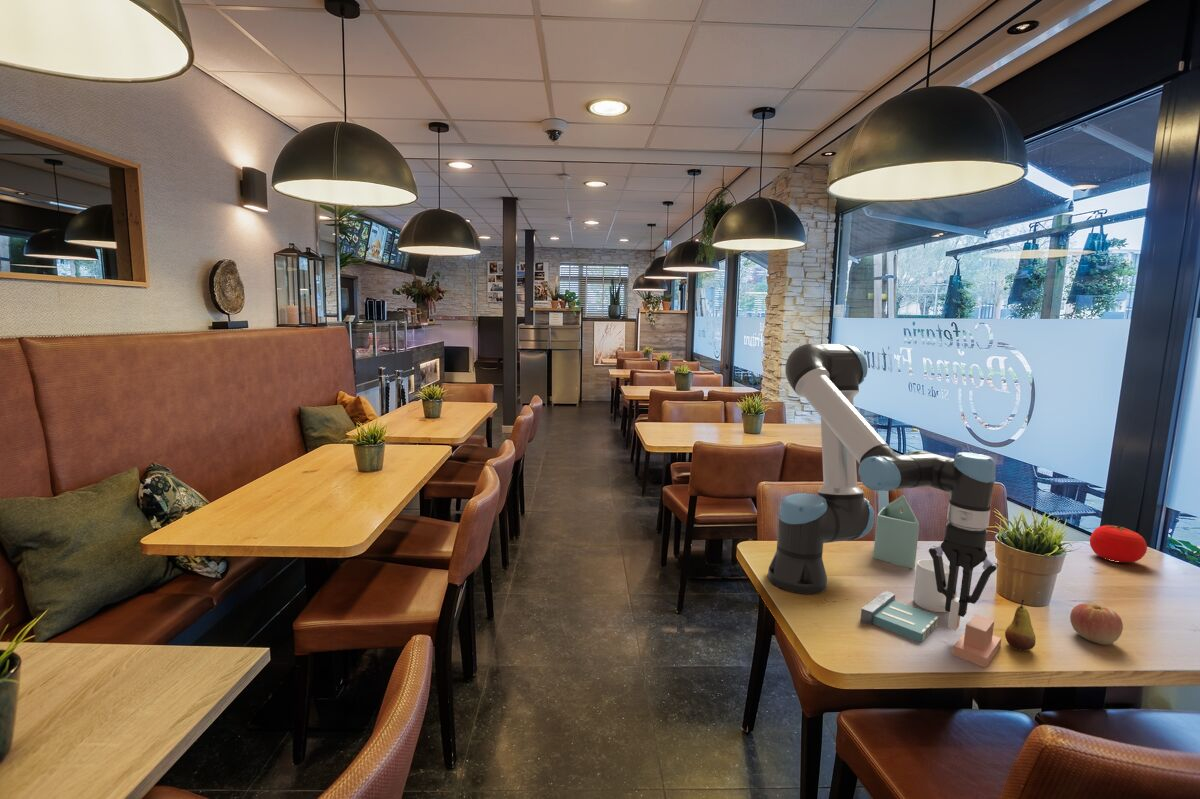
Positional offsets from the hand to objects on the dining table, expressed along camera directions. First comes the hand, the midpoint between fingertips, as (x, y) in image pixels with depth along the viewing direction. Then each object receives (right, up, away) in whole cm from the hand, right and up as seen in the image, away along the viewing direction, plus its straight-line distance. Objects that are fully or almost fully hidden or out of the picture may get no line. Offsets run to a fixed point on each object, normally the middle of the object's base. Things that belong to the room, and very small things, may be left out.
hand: (953, 627), depth 125 cm
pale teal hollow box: (+9, +2, +47) cm, 48 cm away
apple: (+34, -4, +3) cm, 34 cm away
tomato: (+83, 0, +51) cm, 97 cm away
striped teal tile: (-8, -2, +8) cm, 11 cm away
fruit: (+13, -4, -2) cm, 14 cm away
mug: (+5, -2, +15) cm, 16 cm away
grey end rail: (-11, -1, +12) cm, 16 cm away
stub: (+3, -4, -3) cm, 6 cm away
